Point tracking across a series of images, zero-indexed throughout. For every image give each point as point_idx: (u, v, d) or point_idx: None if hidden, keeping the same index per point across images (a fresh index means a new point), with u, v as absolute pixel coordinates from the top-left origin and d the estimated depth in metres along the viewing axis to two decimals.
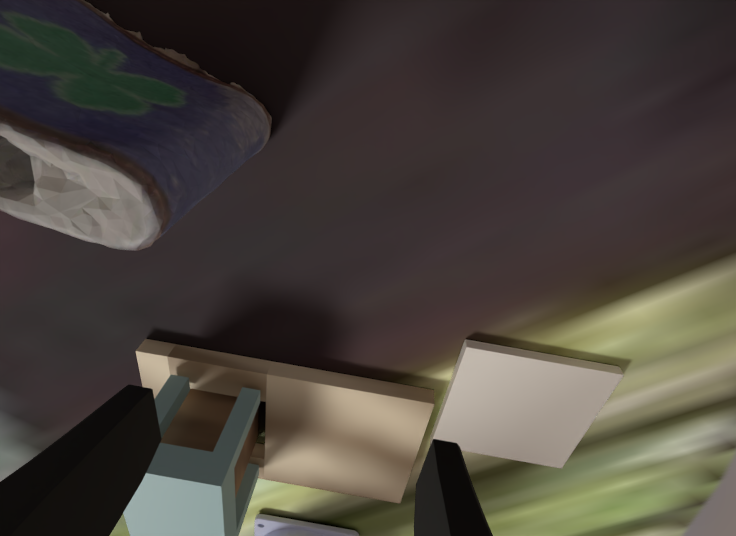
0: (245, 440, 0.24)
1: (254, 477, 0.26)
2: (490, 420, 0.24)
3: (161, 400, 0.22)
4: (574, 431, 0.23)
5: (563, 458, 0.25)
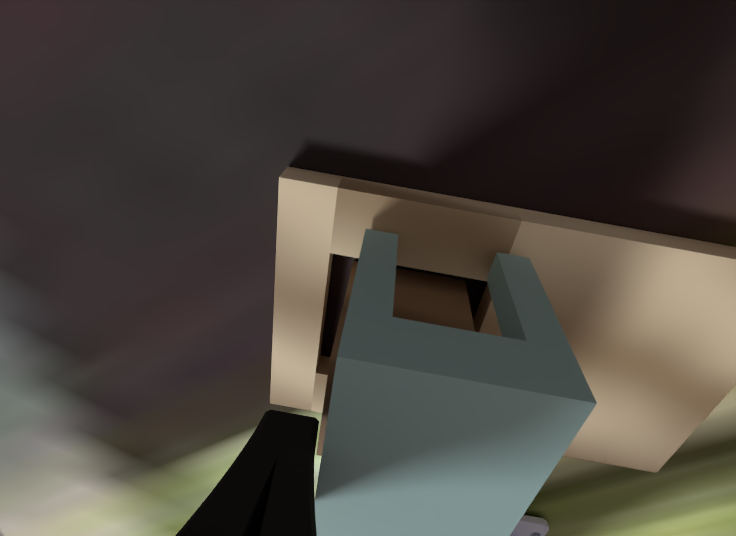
0: None
1: None
2: None
3: (373, 259, 0.11)
4: None
5: None
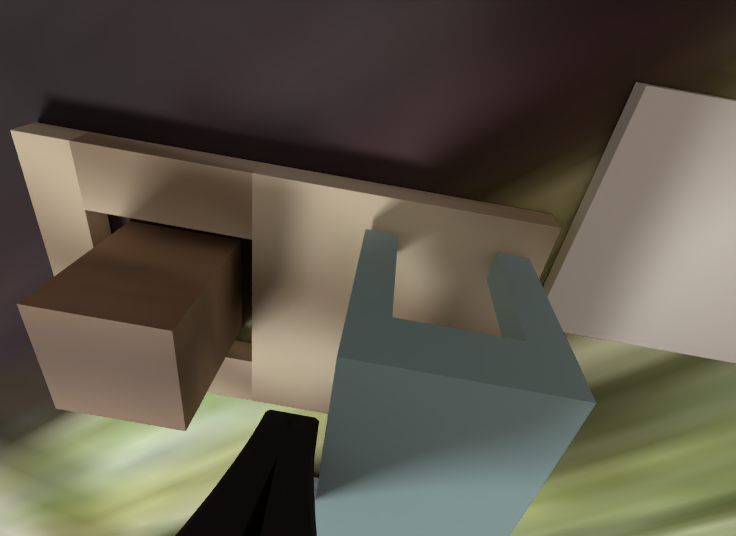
0: (215, 306, 0.13)
1: None
2: (652, 268, 0.13)
3: (372, 260, 0.11)
4: None
5: None
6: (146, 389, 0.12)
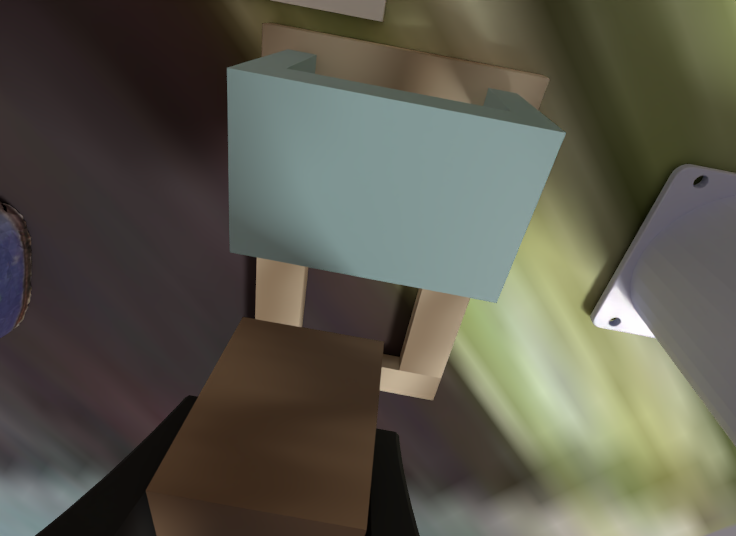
0: (257, 390, 0.10)
1: (493, 93, 0.14)
2: None
3: None
4: None
5: None
6: None
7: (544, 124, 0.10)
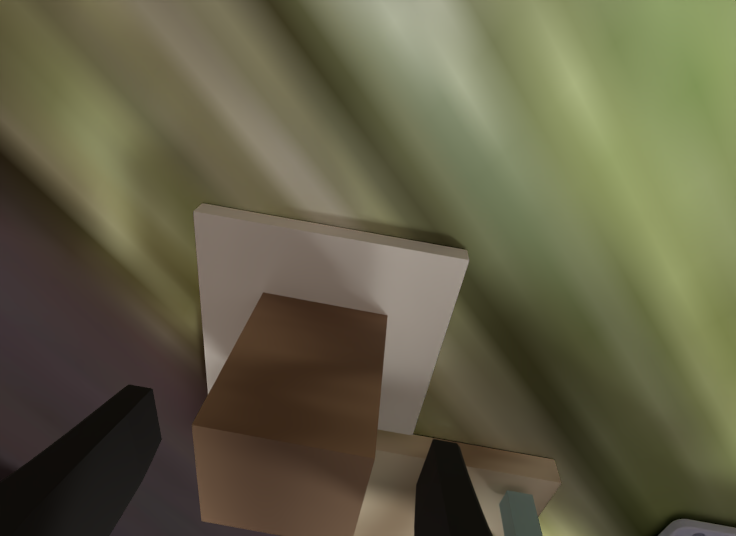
0: (279, 351, 0.11)
1: (512, 512, 0.16)
2: None
3: None
4: (350, 257, 0.12)
5: (434, 261, 0.12)
6: (298, 471, 0.10)
7: None
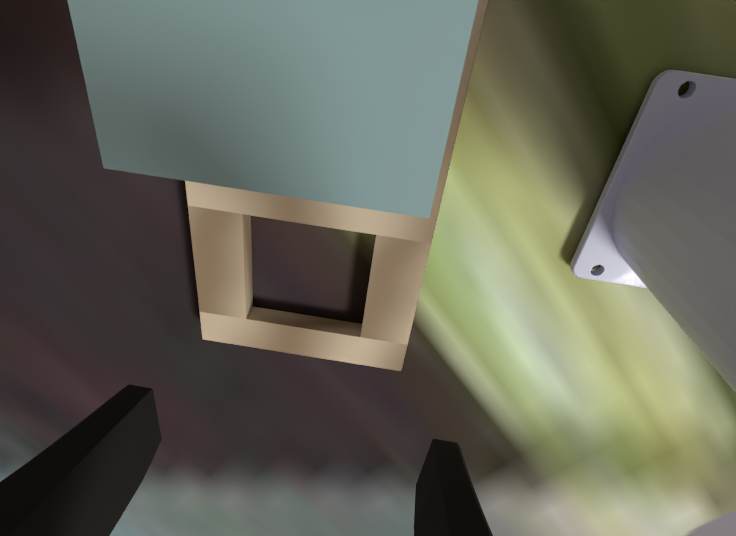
0: None
1: None
2: None
3: None
4: None
5: None
6: None
7: None
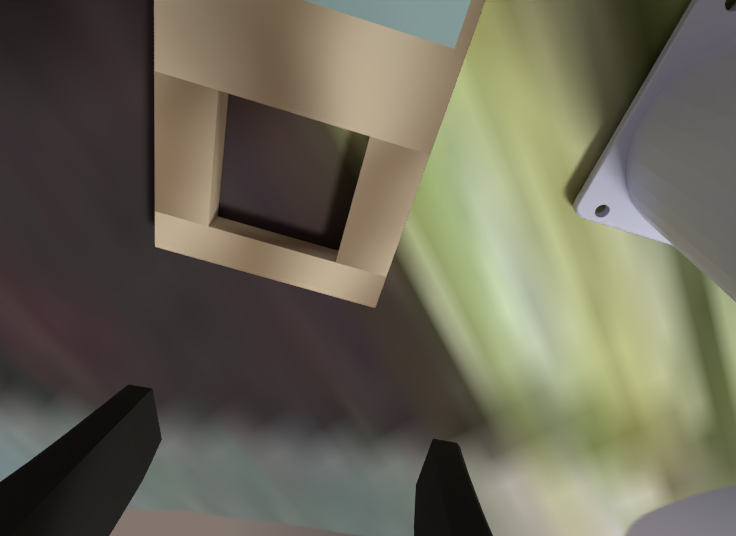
0: None
1: None
2: None
3: None
4: None
5: None
6: None
7: None
